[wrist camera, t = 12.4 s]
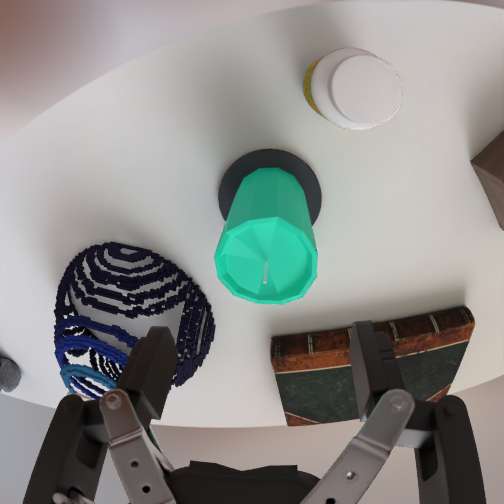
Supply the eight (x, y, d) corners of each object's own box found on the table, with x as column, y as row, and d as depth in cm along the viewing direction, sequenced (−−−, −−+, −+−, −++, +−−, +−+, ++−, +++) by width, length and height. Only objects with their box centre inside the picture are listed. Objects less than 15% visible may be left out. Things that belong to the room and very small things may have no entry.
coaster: (199, 198, 28) (197, 201, 27) (269, 127, 24) (269, 128, 24) (269, 260, 31) (269, 263, 30) (341, 200, 27) (342, 202, 26)
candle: (319, 198, 26) (344, 280, 16) (272, 243, 29) (268, 338, 19) (267, 152, 25) (260, 207, 14) (221, 202, 27) (187, 283, 17)
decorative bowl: (207, 380, 41) (188, 470, 29) (82, 345, 41) (42, 419, 29) (225, 265, 31) (194, 384, 19) (57, 230, 31) (-21, 307, 18)
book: (287, 408, 44) (438, 383, 40) (287, 427, 41) (444, 400, 37) (270, 334, 36) (465, 302, 32) (269, 357, 33) (477, 321, 29)
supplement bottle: (293, 65, 21) (303, 52, 13) (355, 51, 20) (399, 35, 12) (313, 125, 24) (334, 149, 15) (374, 111, 23) (423, 128, 14)
